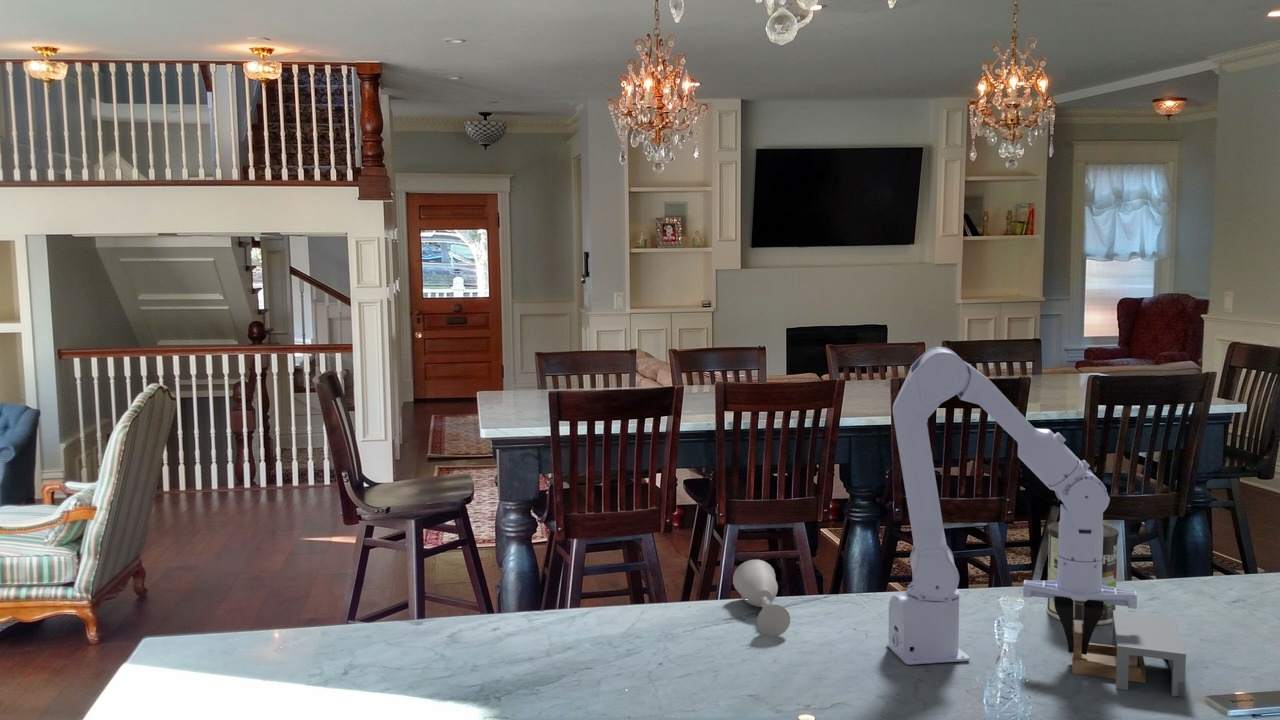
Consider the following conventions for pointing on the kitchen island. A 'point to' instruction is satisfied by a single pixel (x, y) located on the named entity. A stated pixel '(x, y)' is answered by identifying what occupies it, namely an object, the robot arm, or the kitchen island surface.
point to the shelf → (1148, 645)
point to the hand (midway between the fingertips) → (1077, 651)
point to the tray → (1102, 659)
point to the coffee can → (1107, 571)
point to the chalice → (762, 595)
